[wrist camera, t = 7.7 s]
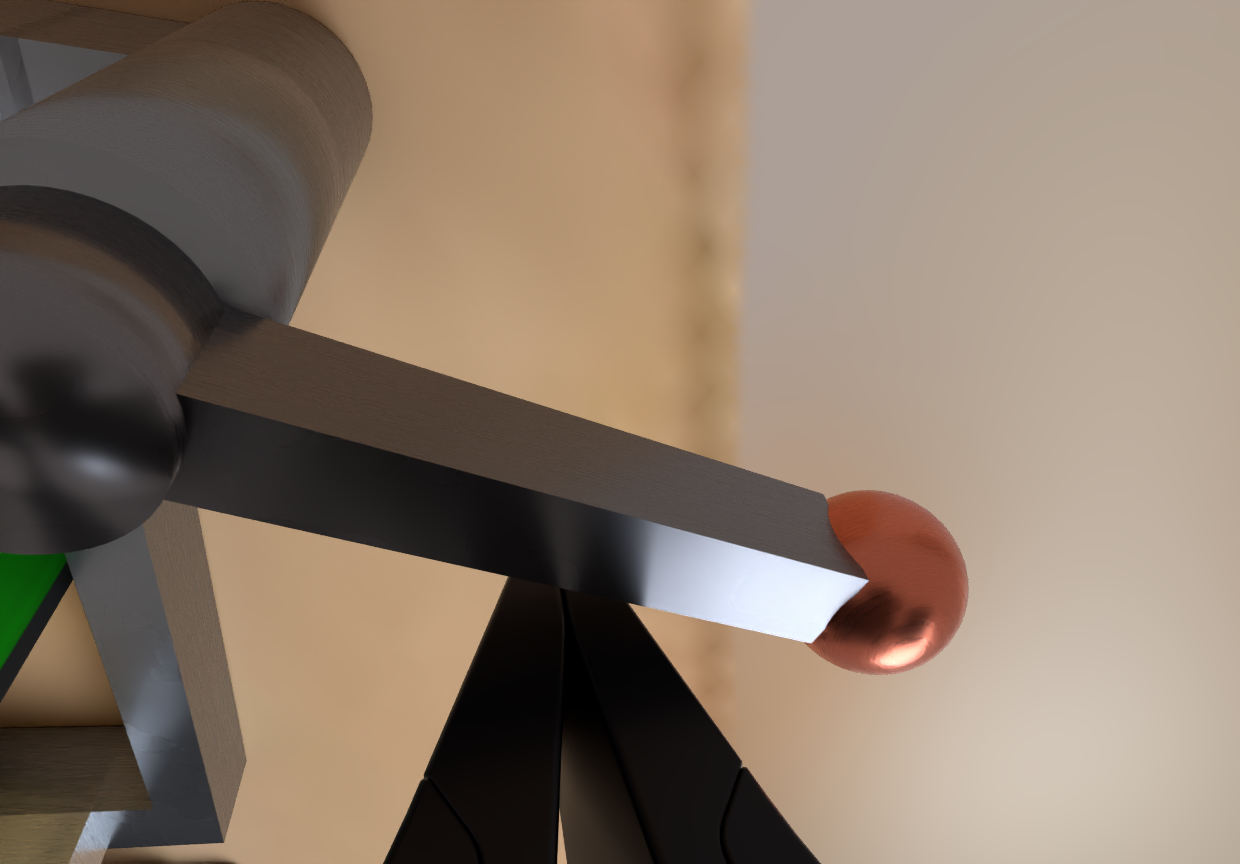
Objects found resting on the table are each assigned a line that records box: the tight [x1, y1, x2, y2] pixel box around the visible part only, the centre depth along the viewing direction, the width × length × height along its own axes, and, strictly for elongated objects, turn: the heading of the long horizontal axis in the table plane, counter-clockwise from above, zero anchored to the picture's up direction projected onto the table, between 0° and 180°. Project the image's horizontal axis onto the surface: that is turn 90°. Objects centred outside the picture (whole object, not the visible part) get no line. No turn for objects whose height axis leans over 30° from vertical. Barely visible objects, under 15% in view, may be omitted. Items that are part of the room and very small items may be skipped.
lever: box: [0, 185, 968, 675], centre depth 8 cm, size 11×2×2 cm, turn 64°
